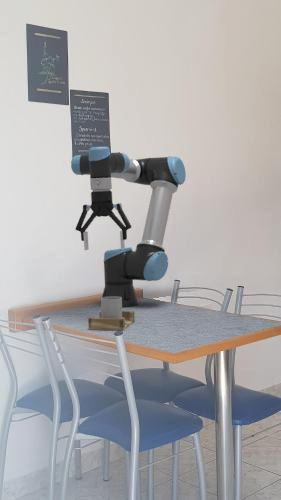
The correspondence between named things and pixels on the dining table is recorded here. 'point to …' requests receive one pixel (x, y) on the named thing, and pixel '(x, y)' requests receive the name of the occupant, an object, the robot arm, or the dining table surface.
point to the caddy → (112, 322)
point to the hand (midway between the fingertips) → (104, 249)
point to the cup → (111, 307)
